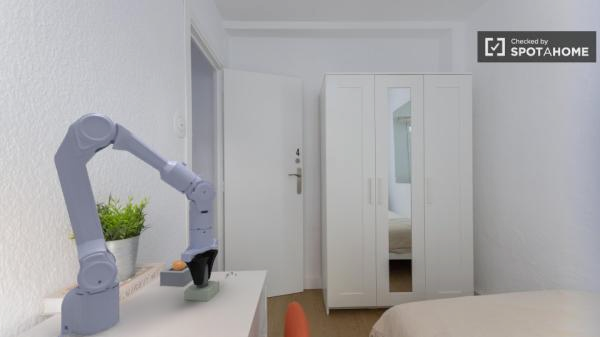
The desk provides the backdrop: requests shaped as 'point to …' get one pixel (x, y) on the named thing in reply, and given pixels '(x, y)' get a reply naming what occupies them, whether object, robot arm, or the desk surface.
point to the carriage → (202, 289)
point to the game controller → (229, 275)
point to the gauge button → (178, 266)
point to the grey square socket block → (175, 277)
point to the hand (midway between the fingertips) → (202, 281)
